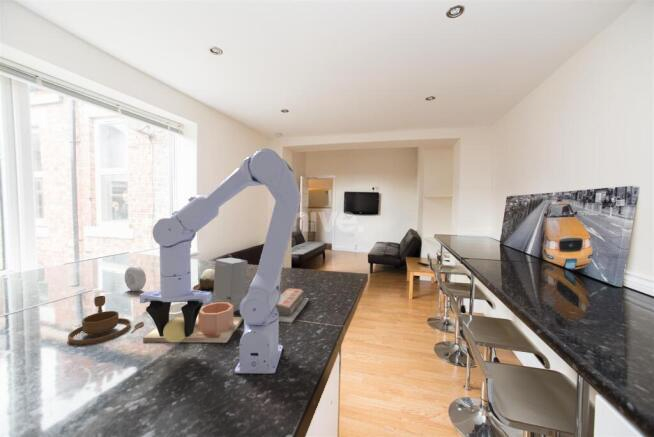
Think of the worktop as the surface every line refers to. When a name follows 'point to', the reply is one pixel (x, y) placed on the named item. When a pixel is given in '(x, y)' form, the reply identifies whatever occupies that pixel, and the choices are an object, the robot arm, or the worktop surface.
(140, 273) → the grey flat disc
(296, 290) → the packaged product
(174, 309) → the tube white
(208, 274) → the skull
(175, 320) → the ball
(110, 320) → the place setting
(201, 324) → the terracotta octagonal bowl
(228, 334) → the rack board
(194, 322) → the robot arm
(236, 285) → the skincare box
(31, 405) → the worktop surface
